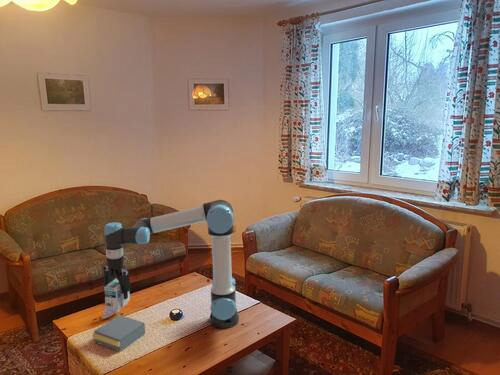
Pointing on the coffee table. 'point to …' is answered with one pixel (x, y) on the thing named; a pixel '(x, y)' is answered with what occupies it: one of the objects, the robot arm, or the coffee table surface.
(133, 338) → the book
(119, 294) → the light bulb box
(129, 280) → the robot arm
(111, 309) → the water lily
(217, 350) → the coffee table surface
